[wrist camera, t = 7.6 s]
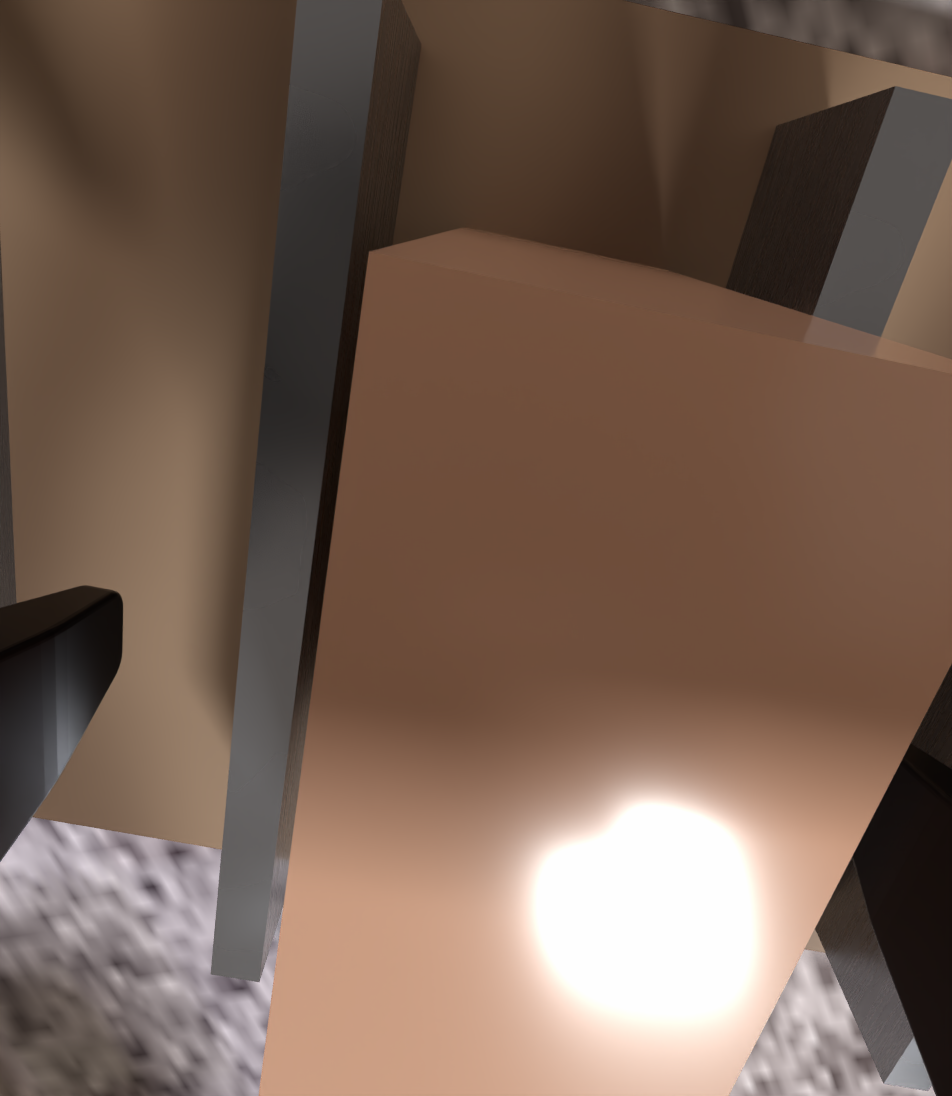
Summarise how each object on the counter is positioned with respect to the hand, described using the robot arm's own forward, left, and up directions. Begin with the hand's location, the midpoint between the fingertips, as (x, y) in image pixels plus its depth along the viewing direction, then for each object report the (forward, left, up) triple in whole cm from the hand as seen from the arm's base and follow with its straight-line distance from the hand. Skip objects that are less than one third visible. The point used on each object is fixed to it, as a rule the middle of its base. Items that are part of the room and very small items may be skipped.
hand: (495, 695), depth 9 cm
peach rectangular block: (0, 0, -4) cm, 5 cm away
